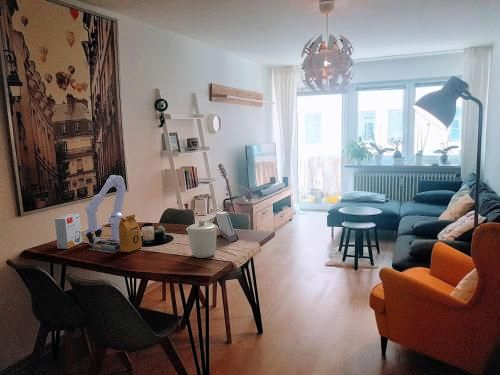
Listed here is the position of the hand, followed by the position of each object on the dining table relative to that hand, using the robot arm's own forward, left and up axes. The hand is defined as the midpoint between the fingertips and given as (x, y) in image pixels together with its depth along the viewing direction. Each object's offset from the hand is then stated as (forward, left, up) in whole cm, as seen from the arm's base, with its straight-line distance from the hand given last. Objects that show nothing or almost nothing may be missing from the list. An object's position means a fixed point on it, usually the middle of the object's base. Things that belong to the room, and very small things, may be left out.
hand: (94, 242), depth 256 cm
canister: (-6, +82, -2) cm, 82 cm away
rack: (+4, +16, -1) cm, 17 cm away
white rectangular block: (0, 0, -2) cm, 2 cm away
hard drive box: (+7, -15, -2) cm, 17 cm away
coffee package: (+1, +33, -2) cm, 33 cm away
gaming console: (-43, +77, -2) cm, 88 cm away
